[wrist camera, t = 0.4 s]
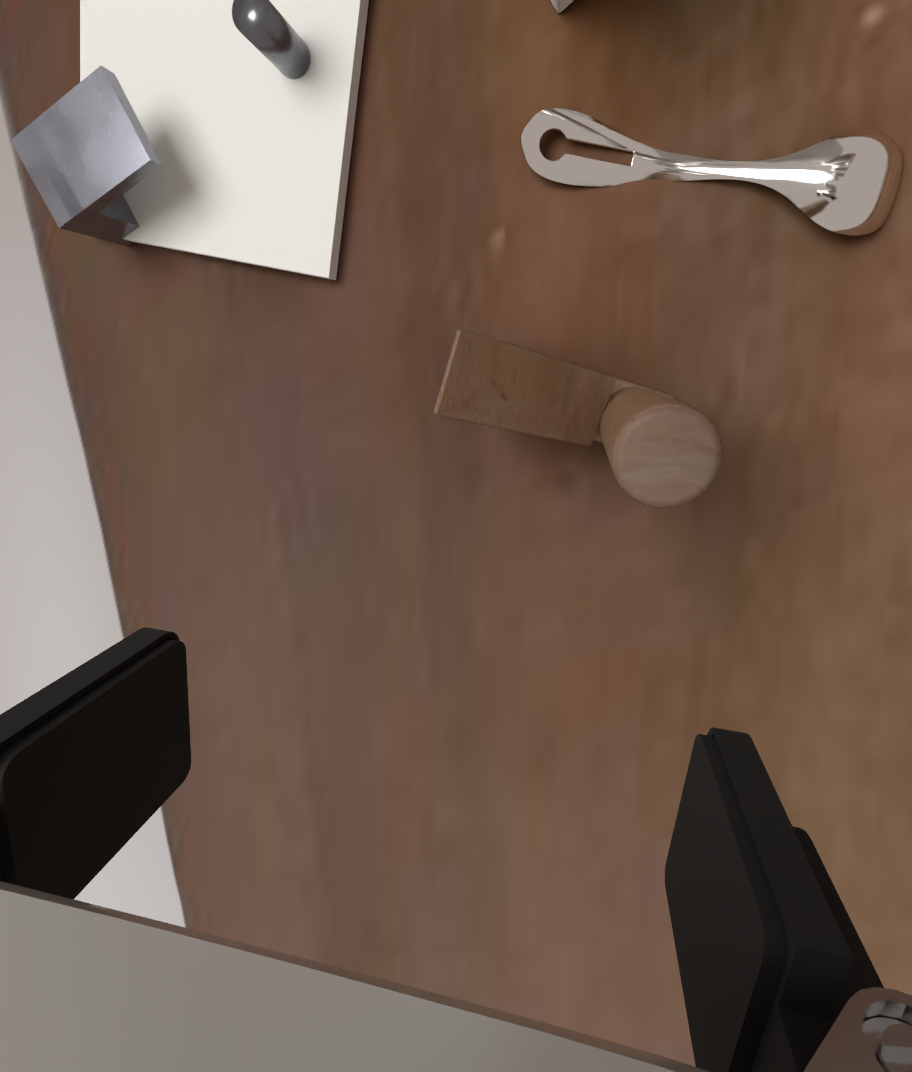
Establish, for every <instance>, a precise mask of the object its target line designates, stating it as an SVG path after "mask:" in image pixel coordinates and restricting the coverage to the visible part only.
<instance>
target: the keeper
mask: <svg viewBox="0 0 912 1072" xmlns="http://www.w3.org/2000/svg"><path fill="white" fill-rule="evenodd" d="M10 141H11V142H12V144H13V146H14V148H15V150H16V151H17V153H18V155H19V157H20V159H21V160H22V162H23V164H24V166H25V168H26V169H27V171H28V173H29V175H30V176H31V178H32V180H33V182H34V184H35V185H36V187H37V189H38V191H39V193H40V194H41V196H42V198H43V200H44V202H45V203H46V205H47V207H48V209H49V210H50V212H51V214H52V216H53V218H54V219H55V221H56V223H57V225H58V227H59V228H62V229H65V230H69V231H73V232H77V233H81V234H85V235H89V236H92V237H96V238H100V239H104V240H108V241H112V242H115V243H119V244H123V245H127V246H131V245H132V244H134V243H135V242H132V241H128V240H125V239H123V238H124V237H126V236H127V235H129V234H130V233H132V232H133V231H134V230H136V229H137V228H139V227H140V226H139V224H138V222H137V220H136V218H135V217H134V215H133V213H132V211H131V209H130V207H129V205H128V203H127V202H126V200H125V198H124V196H123V194H124V193H126V192H127V191H129V190H130V189H131V188H133V187H134V186H135V185H137V184H138V183H139V182H141V181H142V180H143V179H145V178H146V177H148V176H149V175H150V174H152V173H153V172H154V171H156V170H157V169H158V168H160V167H161V166H162V164H161V162H160V160H159V158H158V156H157V154H156V152H155V150H154V149H153V147H152V145H151V143H150V141H149V139H148V137H147V135H146V133H145V131H144V129H143V127H142V125H141V124H140V122H139V120H138V118H137V116H136V114H135V112H134V110H133V108H132V106H131V104H130V102H129V101H128V99H127V97H126V95H125V93H124V91H123V89H122V87H121V85H120V83H119V81H118V79H117V77H116V76H115V74H114V73H113V72H111V71H109V70H108V69H106V68H105V67H103V66H99V67H98V68H97V69H96V70H95V71H93V72H92V73H91V74H90V75H89V76H87V77H86V78H85V79H84V80H83V81H81V82H80V83H79V84H78V85H76V86H75V87H74V88H73V89H72V90H70V91H69V92H68V93H67V94H66V95H64V96H63V97H62V98H61V99H60V100H58V101H57V102H56V103H55V104H54V105H52V106H51V107H50V108H49V109H48V110H46V111H45V112H44V113H43V114H42V115H40V116H39V117H38V118H37V119H36V120H34V121H33V122H32V123H31V124H30V125H28V126H27V127H26V128H25V129H24V130H22V131H21V132H20V133H19V134H18V135H16V136H15V137H14V138H13V139H12V140H10Z"/></svg>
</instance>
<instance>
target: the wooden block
mask: <svg viewBox="0 0 912 1072" xmlns="http://www.w3.org/2000/svg"><path fill="white" fill-rule="evenodd" d="M434 414H435V415H437V416H439V417H444V418H449V419H455V420H460V421H465V422H470V423H475V424H480V425H485V426H490V427H495V428H500V429H505V430H510V431H515V432H520V433H525V434H530V435H535V436H540V437H545V438H550V439H555V440H560V441H565V442H570V443H575V444H580V445H585V446H590V445H591V444H592V442H593V440H595V441H598V442H601V443H603V444H604V447H605V450H606V454H607V457H608V460H609V463H610V466H611V469H612V472H613V474H614V476H615V478H616V481H617V483H618V485H619V487H620V488H621V489H622V490H623V491H624V492H625V493H626V494H627V495H628V496H629V497H630V498H631V499H633V500H635V501H637V502H639V503H641V504H643V505H645V506H650V507H655V508H661V509H662V508H670V507H679V506H681V505H683V504H686V503H688V502H690V501H693V500H695V499H696V498H697V497H698V496H700V495H701V494H702V493H703V492H704V491H706V490H707V489H708V488H709V486H710V485H711V483H712V482H713V480H714V479H715V477H716V476H717V474H718V471H719V467H720V463H721V460H722V448H721V439H720V437H719V435H718V432H717V430H716V428H715V426H714V424H713V423H712V422H711V421H710V420H709V419H708V418H707V417H706V416H705V415H704V414H703V413H702V412H700V411H698V410H696V409H694V408H692V407H690V406H688V405H686V404H684V403H681V402H678V401H676V398H675V397H673V396H672V395H669V394H666V393H663V392H660V391H657V390H654V389H651V388H647V387H644V386H641V385H638V384H635V383H632V382H629V381H626V380H622V379H619V378H616V377H613V376H610V375H607V374H604V373H601V372H597V371H594V370H591V369H588V368H585V367H582V366H579V365H576V364H572V363H569V362H566V361H563V360H560V359H557V358H554V357H550V356H547V355H544V354H541V353H538V352H535V351H532V350H529V349H526V348H523V347H519V346H516V345H513V344H510V343H507V342H504V341H500V340H497V339H494V338H491V337H488V336H485V335H481V334H478V333H474V332H471V331H467V330H464V329H459V330H458V331H457V332H456V335H455V339H454V342H453V346H452V349H451V353H450V356H449V360H448V363H447V367H446V370H445V374H444V377H443V381H442V384H441V388H440V391H439V395H438V398H437V402H436V405H435V409H434Z"/></svg>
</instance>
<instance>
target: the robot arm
mask: <svg viewBox="0 0 912 1072" xmlns="http://www.w3.org/2000/svg"><path fill="white" fill-rule="evenodd" d="M190 766H191V748H190V727H189V706H188V685H187V664H186V648H185V645H184V643H183V642H181V641H179V638H178V636H177V634H175V633H174V632H169V631H164V630H158V629H152V628H142V629H139V630H138V631H136V632H134V633H133V634H131V635H130V636H128V637H126V638H125V639H123V640H121V641H120V642H118V643H117V644H115V645H113V646H112V647H110V648H108V649H107V650H105V651H103V652H102V653H100V654H99V655H97V656H95V657H94V658H92V659H90V660H89V661H87V662H86V663H84V664H82V665H81V666H79V667H77V668H76V669H74V670H73V671H71V672H69V673H68V674H66V675H64V676H63V677H61V678H60V679H58V680H56V681H55V682H53V683H51V684H50V685H48V686H46V687H45V688H43V689H42V690H40V691H38V692H37V693H35V694H33V695H32V696H30V697H29V698H27V699H25V700H24V701H22V702H20V703H19V704H17V705H16V706H14V707H12V708H11V709H9V710H7V711H6V712H4V713H2V714H1V715H0V1072H912V996H910V995H908V994H905V993H903V992H900V991H898V990H893V989H887V988H884V987H883V985H882V983H881V981H880V979H879V977H878V975H877V973H876V971H875V969H874V967H873V965H872V962H871V960H870V958H869V956H868V954H867V952H866V950H865V948H864V946H863V944H862V942H861V940H860V938H859V936H858V934H857V932H856V930H855V928H854V926H853V924H852V922H851V920H850V918H849V916H848V914H847V912H846V909H845V907H844V905H843V903H842V901H841V899H840V897H839V895H838V893H837V891H836V889H835V887H834V885H833V883H832V881H831V879H830V877H829V875H828V873H827V871H826V869H825V867H824V865H823V863H822V861H821V858H820V856H819V854H818V852H817V850H816V848H815V846H814V844H813V842H812V840H811V839H810V837H809V835H808V834H807V832H806V831H804V830H803V829H801V828H798V827H793V826H792V825H791V823H790V821H789V818H788V816H787V814H786V812H785V810H784V808H783V805H782V803H781V801H780V799H779V797H778V795H777V792H776V790H775V788H774V786H773V784H772V782H771V780H770V777H769V775H768V773H767V771H766V769H765V767H764V764H763V762H762V760H761V758H760V756H759V754H758V751H757V749H756V747H755V745H754V743H753V741H752V739H751V737H750V735H749V734H746V733H741V732H735V731H730V730H724V729H718V728H713V727H712V728H711V729H710V730H709V732H708V734H707V735H702V734H698V735H697V736H696V738H695V742H694V746H693V750H692V754H691V758H690V763H689V767H688V771H687V776H686V780H685V784H684V788H683V793H682V797H681V801H680V805H679V810H678V814H677V818H676V823H675V827H674V831H673V835H672V840H671V844H670V848H669V852H668V857H667V861H666V868H665V886H666V893H667V899H668V905H669V911H670V917H671V922H672V928H673V934H674V940H675V946H676V952H677V958H678V964H679V970H680V976H681V982H682V988H683V993H684V999H685V1005H686V1011H687V1017H688V1023H689V1029H690V1035H691V1041H692V1047H693V1053H694V1059H695V1064H696V1067H693V1066H690V1065H687V1064H684V1063H681V1062H678V1061H675V1060H672V1059H669V1058H666V1057H663V1056H660V1055H657V1054H654V1053H650V1052H647V1051H643V1050H640V1049H636V1048H633V1047H629V1046H626V1045H622V1044H619V1043H615V1042H612V1041H608V1040H605V1039H601V1038H598V1037H594V1036H591V1035H587V1034H584V1033H580V1032H576V1031H573V1030H569V1029H566V1028H562V1027H559V1026H555V1025H552V1024H548V1023H545V1022H541V1021H538V1020H534V1019H531V1018H527V1017H523V1016H519V1015H516V1014H512V1013H508V1012H504V1011H501V1010H497V1009H493V1008H489V1007H486V1006H482V1005H478V1004H474V1003H470V1002H467V1001H463V1000H459V999H455V998H452V997H448V996H444V995H440V994H437V993H433V992H429V991H425V990H422V989H418V988H414V987H410V986H406V985H403V984H399V983H395V982H391V981H388V980H384V979H380V978H376V977H373V976H369V975H365V974H361V973H358V972H354V971H350V970H346V969H342V968H338V967H335V966H331V965H327V964H323V963H319V962H315V961H311V960H308V959H304V958H300V957H296V956H292V955H288V954H285V953H281V952H277V951H273V950H269V949H265V948H261V947H258V946H254V945H250V944H246V943H242V942H238V941H234V940H230V939H227V938H223V937H219V936H215V935H211V934H207V933H203V932H199V931H195V930H192V929H188V928H184V927H180V926H176V925H172V924H168V923H164V922H161V921H156V920H153V919H149V918H145V917H141V916H136V915H133V914H129V913H125V912H120V911H117V910H113V909H109V908H105V907H101V906H97V905H93V904H89V903H85V902H81V901H77V900H73V899H74V898H75V897H76V896H77V895H78V894H79V893H80V892H81V891H82V890H83V889H84V887H85V886H86V885H87V884H88V883H89V882H90V881H91V880H92V879H93V878H94V877H95V875H97V874H98V873H99V871H100V870H101V869H102V868H103V867H104V866H105V865H106V864H107V863H108V862H109V861H110V860H111V859H112V858H113V857H114V855H115V854H116V853H117V852H118V851H119V850H120V849H121V848H122V847H123V846H124V845H125V844H126V843H127V842H128V840H129V839H130V838H131V837H132V836H133V835H134V834H135V833H136V832H137V831H138V830H139V829H140V828H141V827H142V826H143V824H144V823H145V822H146V821H147V820H148V819H149V818H150V817H151V816H152V815H153V814H154V813H155V812H156V811H157V809H158V808H159V807H160V806H161V805H162V804H163V803H164V802H165V801H166V800H167V799H168V798H169V797H170V796H171V795H172V793H173V792H174V791H175V790H176V789H177V788H178V787H179V786H180V785H181V784H182V783H183V781H184V780H185V779H186V777H187V775H188V772H189V770H190Z"/></svg>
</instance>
